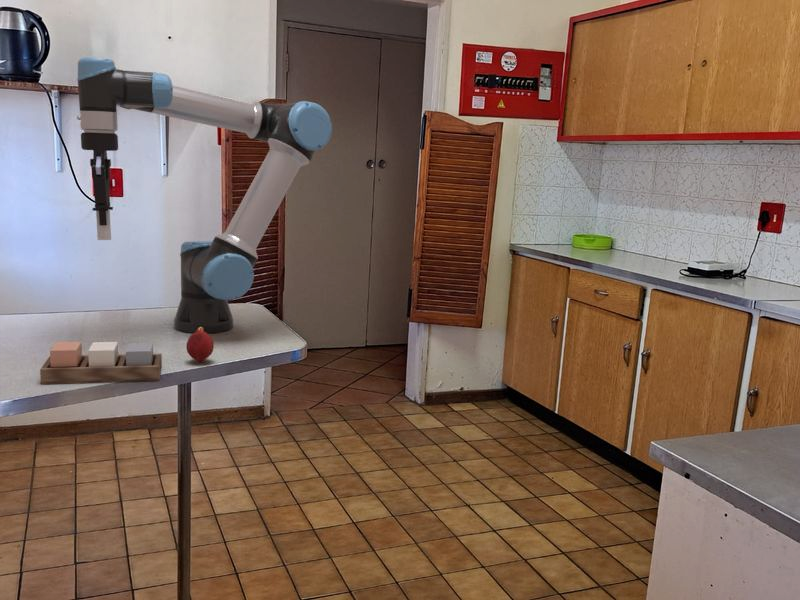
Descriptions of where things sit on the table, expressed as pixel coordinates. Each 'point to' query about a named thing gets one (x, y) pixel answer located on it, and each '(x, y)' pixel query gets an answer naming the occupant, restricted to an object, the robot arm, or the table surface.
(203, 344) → the onion
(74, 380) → the wooden compartment tray
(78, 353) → the terracotta key
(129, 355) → the slate key
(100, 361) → the cream key
